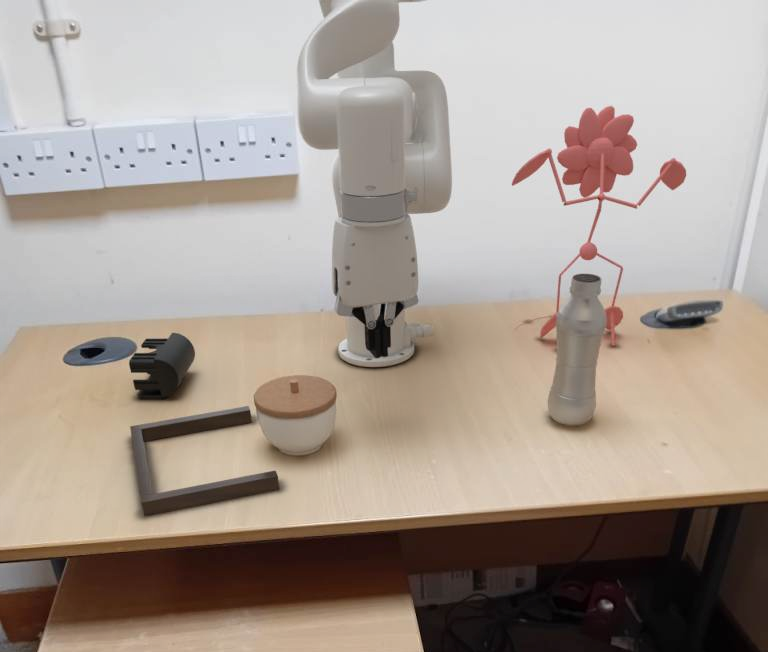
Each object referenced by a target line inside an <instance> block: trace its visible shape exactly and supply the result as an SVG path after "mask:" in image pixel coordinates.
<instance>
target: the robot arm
mask: <svg viewBox="0 0 768 652" xmlns="http://www.w3.org/2000/svg"><path fill="white" fill-rule="evenodd" d="M426 1H427V0H318V3H319V7H320V9H321V13H322V16H323V19H322V20H321V21H320V22H319V23H318V24H317V25H316V27H315V28H314V29H313V30H312V32H311V33H310V34H309V36H308V37H307V39H305V42H304V44H303V45H302V47H301V50H300V52H299V56H298V60H297V65H296V120H297V125H298V131H299V133H300V135H301V138H302V140H303V141H304V143H306V144H307V146H309V147H310V148H313V149H316V150H322V151H324V150H325V151H328V150H329V151H331V150H337V152H338V154H337V155H336V156H335V157H334V159H333V161H332V165H331V184H332V190H333V194H334V200H335V205H336V210H337V215H338V217H337V218H335V219H334V225H333V232H332V233H333V234H332V249H331V251H332V252H331V285H332V287H331V288H332V292H333V295H334V297H335V302H334V303H335V304H334V309H333V310H334V312H335V313H336V314H337V315H338V316H340V317H345V327H346V337H345V338H344V339H343V340H341V341H340V342H339V344H338V347H337V350H338V356H339V357H340V358H341V360H343V361H344V362H346V363H348V364H351V365H354V366H358V367H364V368H365V367H366V368H384V367H390V366H394V365H395V366H396V365H398V364H401V363H404V362H406V361H407V360H409V359H411V357H412V356H413V355H414V353H415V343H414V342H415V341H416V339H419V338H422V339H423V338H428V337H433V336H434V327H433V325H432V324H424V325H421V322H419V321H415V322H411V323H407V322H406V320H405V319H406V318H405V310H406V309H409V308H411V307H414V306H416V305H418V303H419V298H418V291H419V265H418V264H419V263H418V253H417V245H416V238H415V233H414V227H413V223H412V222H413V221H412V218H411V215H419V214H432V213H438V212H441V211H443V210H445V208H446V207H447V206H448V205H449V203H450V200H451V197H452V190H453V169H452V152H451V151H452V150H451V136H450V135H451V134H450V132H451V131H450V117H449V105H448V102H449V101H448V96H447V95H448V94H447V89H446V87H445V84H444V82H443V79H442V78H441V77H440V76H439V74H436V73H435V72H434V71H429V70H396V68H395V47H394V42H393V41H394V40H395V38H396V36H397V34H398V32H399V28H400V17H401V15H400V5H399V4H401V3H402V4H403V3H420V2H426ZM336 74H337V78H331V77H333V76H334V75H336Z"/></svg>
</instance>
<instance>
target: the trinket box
mask: <svg viewBox="0 0 768 652" xmlns="http://www.w3.org/2000/svg"><path fill="white" fill-rule="evenodd" d="M337 396H338V395H337V389H336V387H335V385H334V384H333V383H332V382H331V381H329V380H328V379H325V378H323V377H319V376H315V375H309V374H308V375H307V374H299V375H298V374H296V375H286V376H282V377H277V378H274V379H271V380H269V381H266V382H264V383H263V384H261V385H260V386H258V388H257V389H256V390H255V392H254V394H253V403H254V406H255V410H256V417H257V421H258V425H259V427H260V429H261V432H262V434H263V435H264V437H265V439H266V440H267V441H268V442H269V443H270V444H271V445H272V446H274V447H275V448H276V449H278V450H279V452H281V453H283V454H285V455H288V456H295V457H296V456H297V457H300V456H301V457H302V456H307V455H311V454H313V453H316V452H318V451H319V450H320V449H321V448H322V447H323V444H325V443H326V441H328V439H329V438H330V437H331V435H332V433H333V431H334V428H335V425H336V419H337Z"/></svg>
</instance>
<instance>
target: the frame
mask: <svg viewBox="0 0 768 652" xmlns="http://www.w3.org/2000/svg"><path fill="white" fill-rule="evenodd" d="M250 423H253V419H252V413H251V409H250V406H249V405H245V406H240V407H234V408H233V407H232V408H228V409H222V410H217V411H211V412H204V413H199V414H193V415H188V416H187V415H186V416H184V417H183V416H182V417H181V416H180V417H176V418H170V419H165V420H159V421H158V420H157V421H153V422H152V421H151V422H146V423H142V424H136V425H130V426H129V428H130V437H131V442H132V450H133V456H134V463H135V464H134V465H135V469H136V470H135V471H136V478H137V484H138V491H139V499H140V504H141V508H142V512H143V516H144V517H147V516H152V515H156V514H162V513H167V512H171V511H173V512H174V511H175V510H176V511H177V510H178V511H179V510H182V509H187V508H193V507H198V506H202V505H206V504H207V505H208V504H212V503H217V502H222V501H227V500H232V499H237V498H243V497H247V496H252V495H257V494H263V493H268V492H271V491H277V490H280V482H279V475H278V473H277V470H270V471H264V472H260V473H254V474H249V475H245V476H244V475H243V476H240V477H234V478H228V479H224V480H219V481H214V482H209V483H203V484H198V485H193V486H187V487H183V488H178V489H172V490H166V491H161V492H157V493H154V491H153V486H152V480H151V475H150V474H151V473H150V468H149V462H148V456H147V451H146V444H145V442H149V441H154V440H161V439H165V438H171V437H178V436H182V435H189V434H194V433H198V432H199V433H200V432H204V431H211V430H216V429H221V428H227V427H233V426H239V425H244V424H245V425H246V424H250Z"/></svg>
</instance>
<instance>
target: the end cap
mask: <svg viewBox="0 0 768 652" xmlns="http://www.w3.org/2000/svg"><path fill="white" fill-rule="evenodd" d="M140 346H141V349H148V350H153V351H150V352H134V353H133V355H132V356H131V358H130V359H129V362H128V365H129V370H130V374H131V373H132V374H133V373H135V374H147V375H149V376H148V377H147V379H133V380H132V384H133V387H134V390H135V391H137V393H136V394H137V398H138V399H139V400H164V399H167V398H169V397H170V396H171V395H173V393H174V392H176V390H177V389H178V388H179V386H180V384H181V383H182V380H183V379H184V377H185V376H186V374H187V372H188V371H189V369H190V368H191V366H192V365H193V363H194V360H195V357H196V350H195V347H194V345H193V343H192V342H191V341H190V339H189V338H187V337H186V336H185V335H183V334H182V333H181V334H180V333H177V332H172V333H170V335H169V336H168V338H145V339H144V341H143V342H142V343H141V344H140Z"/></svg>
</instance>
